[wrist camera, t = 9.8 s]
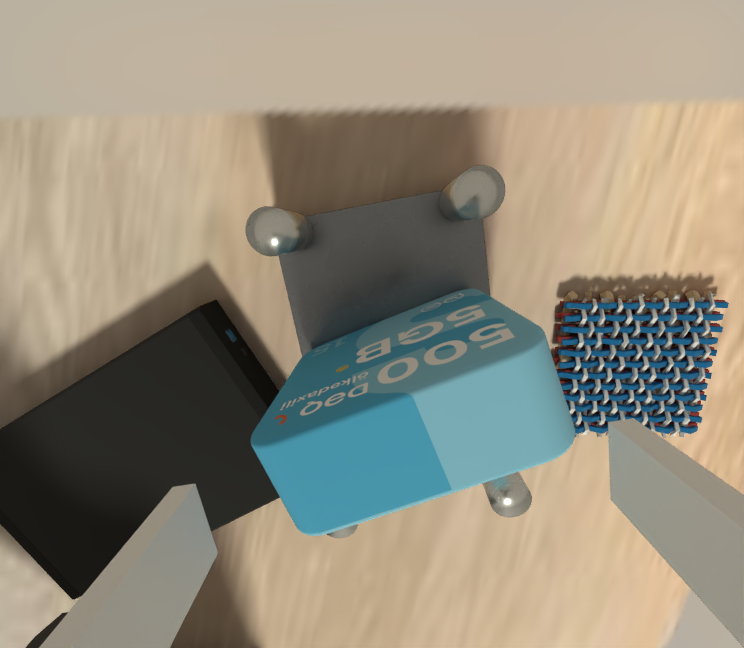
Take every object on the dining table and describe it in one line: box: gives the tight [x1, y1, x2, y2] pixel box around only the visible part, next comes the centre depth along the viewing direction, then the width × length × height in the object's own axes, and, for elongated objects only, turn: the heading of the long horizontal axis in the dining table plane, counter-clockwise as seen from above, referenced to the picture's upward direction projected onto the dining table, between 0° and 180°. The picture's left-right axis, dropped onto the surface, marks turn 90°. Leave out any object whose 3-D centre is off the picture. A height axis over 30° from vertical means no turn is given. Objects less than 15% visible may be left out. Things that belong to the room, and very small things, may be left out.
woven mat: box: [553, 290, 729, 438], centre depth 25 cm, size 10×11×2 cm
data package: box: [251, 289, 575, 536], centre depth 19 cm, size 12×4×12 cm, turn 113°
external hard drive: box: [0, 300, 280, 599], centre depth 27 cm, size 14×23×3 cm, turn 120°
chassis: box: [246, 165, 532, 538], centre depth 23 cm, size 13×20×6 cm, turn 10°
